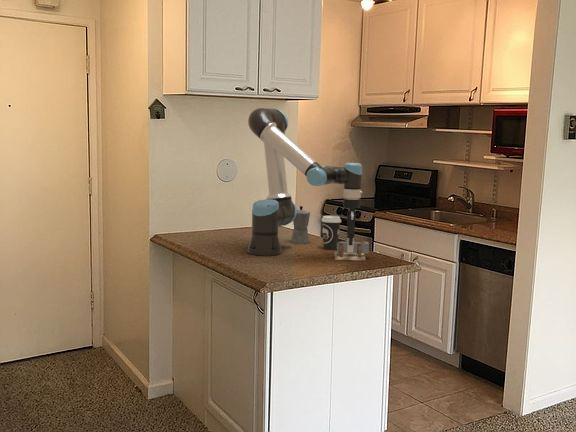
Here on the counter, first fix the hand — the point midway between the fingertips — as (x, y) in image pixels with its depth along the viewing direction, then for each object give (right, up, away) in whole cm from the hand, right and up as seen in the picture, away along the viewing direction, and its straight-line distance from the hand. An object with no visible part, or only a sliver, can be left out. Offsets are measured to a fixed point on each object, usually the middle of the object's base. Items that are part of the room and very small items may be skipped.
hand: (349, 251), depth 273 cm
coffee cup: (-7, 0, +20) cm, 22 cm away
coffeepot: (-22, +3, +35) cm, 41 cm away
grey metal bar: (0, 0, 0) cm, 1 cm away
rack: (0, -3, 0) cm, 3 cm away
